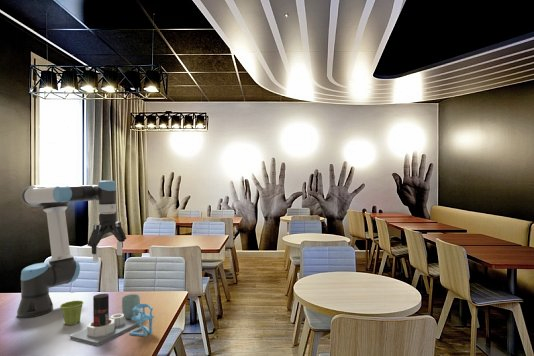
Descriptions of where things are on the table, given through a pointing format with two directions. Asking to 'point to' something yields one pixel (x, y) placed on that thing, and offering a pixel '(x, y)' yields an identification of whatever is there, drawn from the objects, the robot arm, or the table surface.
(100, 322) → the deodorant
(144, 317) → the chair
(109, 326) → the bore plate
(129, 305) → the cup
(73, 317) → the plant pot
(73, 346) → the table surface
